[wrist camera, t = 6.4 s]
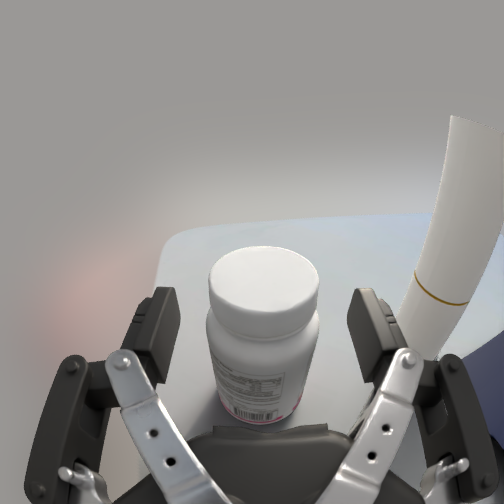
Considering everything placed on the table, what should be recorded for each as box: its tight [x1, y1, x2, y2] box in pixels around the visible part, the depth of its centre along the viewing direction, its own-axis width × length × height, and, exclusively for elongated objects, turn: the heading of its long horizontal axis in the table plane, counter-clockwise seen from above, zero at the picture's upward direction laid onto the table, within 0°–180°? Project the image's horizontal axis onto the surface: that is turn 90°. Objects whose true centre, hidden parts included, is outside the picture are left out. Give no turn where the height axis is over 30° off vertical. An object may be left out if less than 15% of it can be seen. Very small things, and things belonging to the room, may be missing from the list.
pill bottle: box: [206, 246, 319, 425], centre depth 12 cm, size 5×5×8 cm
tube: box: [395, 115, 504, 361], centre depth 13 cm, size 4×4×15 cm
